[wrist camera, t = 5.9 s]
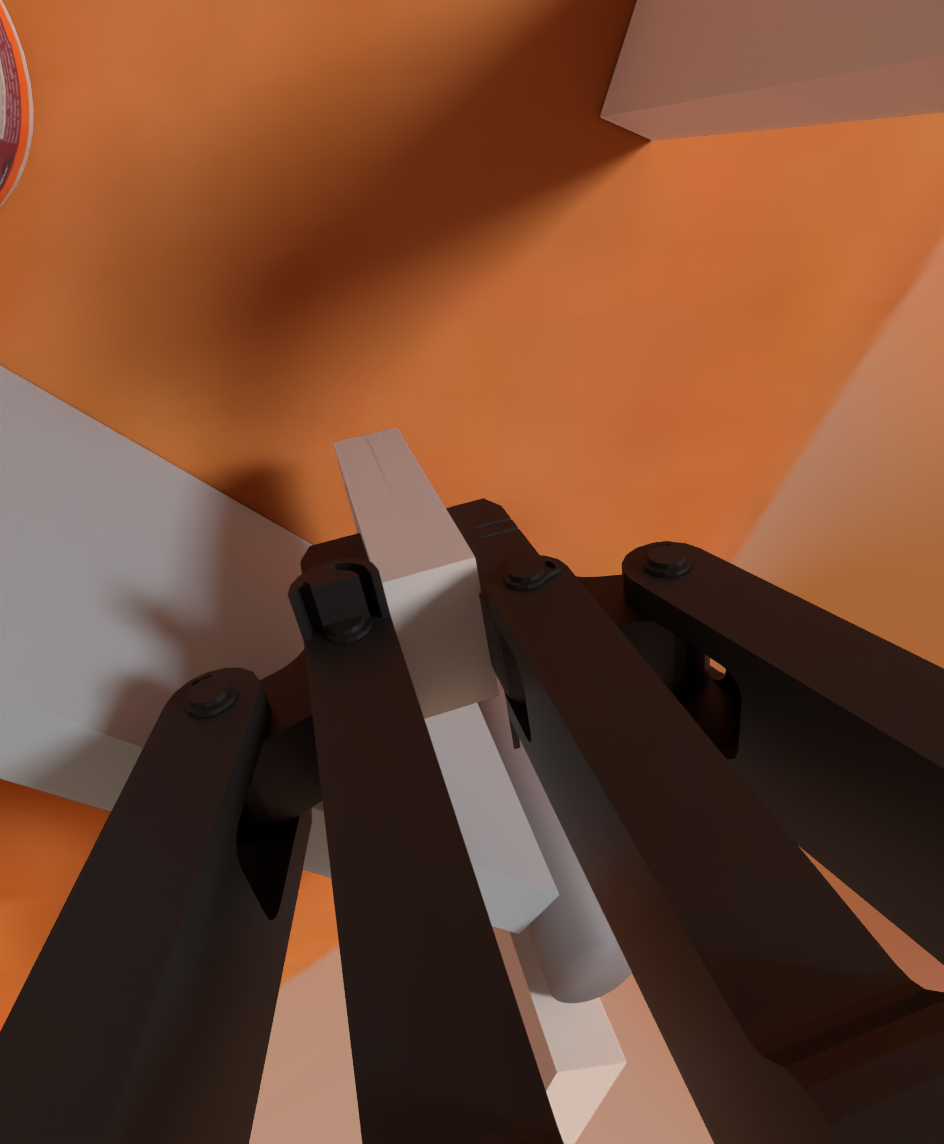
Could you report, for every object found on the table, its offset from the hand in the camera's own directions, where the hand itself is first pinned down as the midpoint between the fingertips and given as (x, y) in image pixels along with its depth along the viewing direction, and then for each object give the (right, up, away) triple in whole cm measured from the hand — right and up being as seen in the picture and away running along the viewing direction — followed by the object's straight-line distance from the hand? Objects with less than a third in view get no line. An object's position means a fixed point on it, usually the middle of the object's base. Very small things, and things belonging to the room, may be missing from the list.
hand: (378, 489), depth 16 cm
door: (-4, -1, +3) cm, 5 cm away
